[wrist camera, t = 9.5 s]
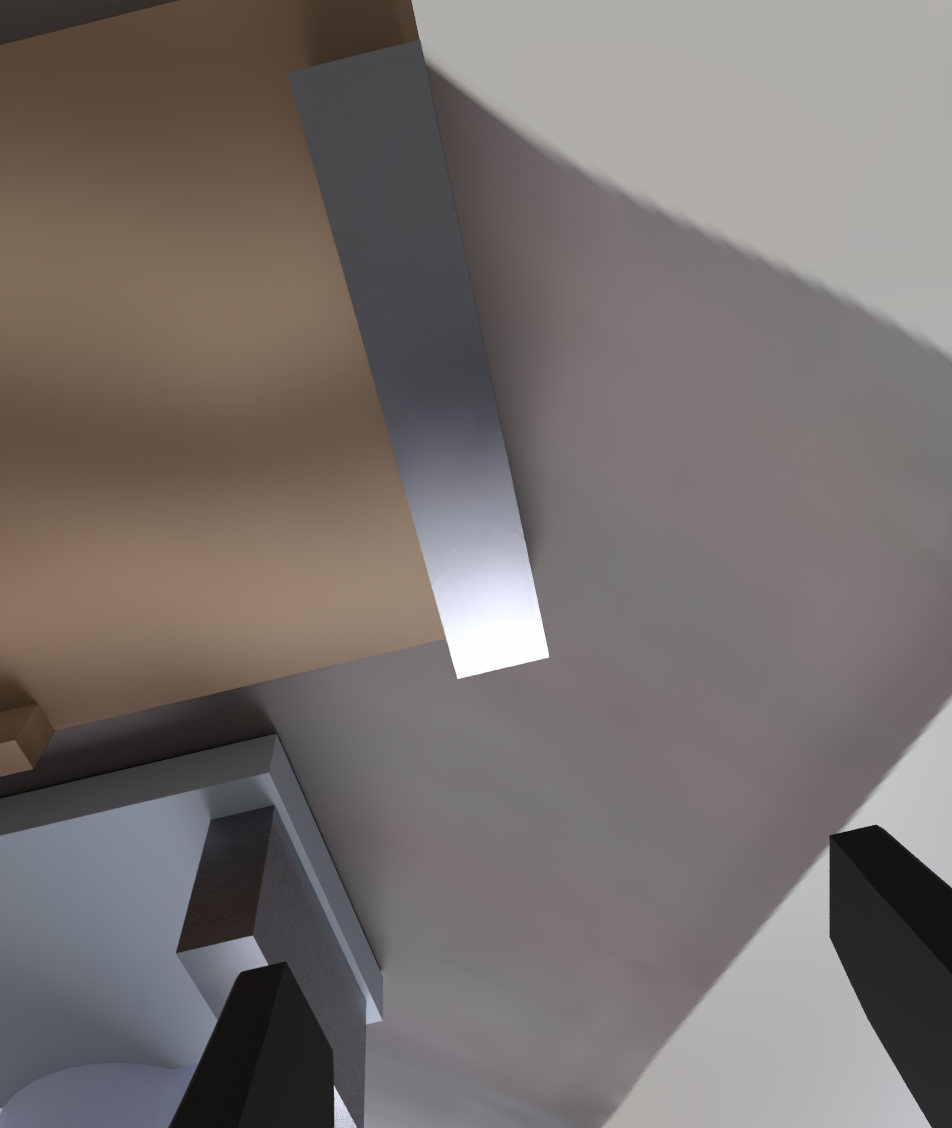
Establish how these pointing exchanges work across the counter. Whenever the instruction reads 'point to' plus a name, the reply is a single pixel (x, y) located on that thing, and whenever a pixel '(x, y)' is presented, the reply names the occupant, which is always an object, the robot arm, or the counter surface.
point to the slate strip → (172, 917)
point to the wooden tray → (237, 367)
